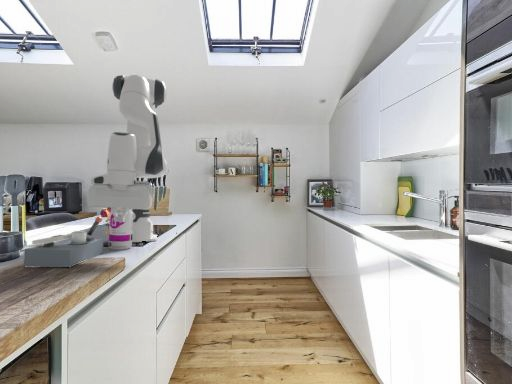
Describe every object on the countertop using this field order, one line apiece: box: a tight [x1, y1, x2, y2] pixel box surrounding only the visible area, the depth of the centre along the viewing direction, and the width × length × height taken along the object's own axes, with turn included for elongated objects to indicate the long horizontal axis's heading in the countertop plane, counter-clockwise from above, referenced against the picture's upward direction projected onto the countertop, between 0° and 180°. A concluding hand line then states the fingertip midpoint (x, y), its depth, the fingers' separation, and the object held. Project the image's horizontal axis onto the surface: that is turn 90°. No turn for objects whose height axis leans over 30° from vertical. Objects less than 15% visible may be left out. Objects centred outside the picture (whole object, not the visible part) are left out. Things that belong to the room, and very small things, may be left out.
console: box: [23, 236, 104, 267], centre depth 97 cm, size 22×12×6 cm, turn 4°
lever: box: [86, 216, 103, 237], centre depth 103 cm, size 2×2×7 cm
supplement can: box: [108, 208, 133, 251], centre depth 120 cm, size 8×8×15 cm
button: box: [70, 230, 87, 245], centre depth 97 cm, size 4×4×4 cm
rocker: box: [31, 234, 66, 245], centre depth 91 cm, size 4×7×1 cm, turn 94°
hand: (119, 221), depth 104 cm, fingers closed
